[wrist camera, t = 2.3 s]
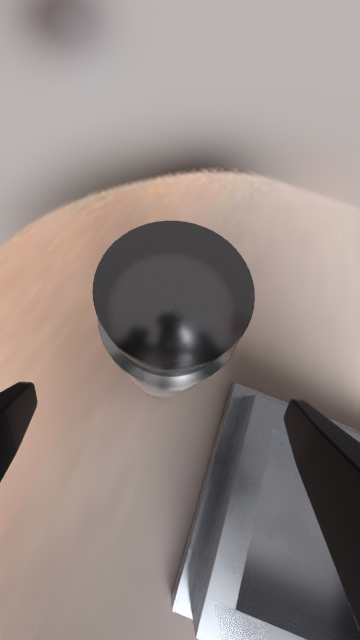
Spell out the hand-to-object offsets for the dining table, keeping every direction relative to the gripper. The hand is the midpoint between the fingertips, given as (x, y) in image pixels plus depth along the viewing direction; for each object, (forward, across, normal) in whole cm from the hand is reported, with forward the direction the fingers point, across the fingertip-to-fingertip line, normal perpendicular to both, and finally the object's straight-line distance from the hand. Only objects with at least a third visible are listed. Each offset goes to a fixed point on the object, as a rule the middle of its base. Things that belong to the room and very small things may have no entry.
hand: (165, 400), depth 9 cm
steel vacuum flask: (+9, 0, +5) cm, 10 cm away
